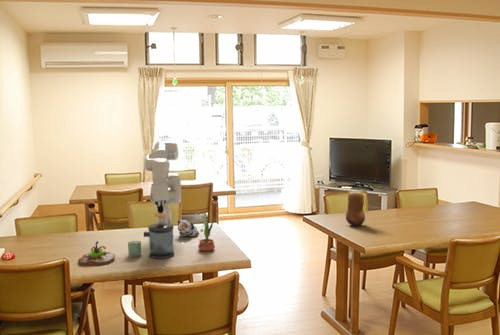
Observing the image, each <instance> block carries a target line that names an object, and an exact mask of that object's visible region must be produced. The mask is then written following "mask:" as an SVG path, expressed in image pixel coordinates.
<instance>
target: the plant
mask: <svg viewBox="0 0 500 335" xmlns="http://www.w3.org/2000/svg"><path fill="white" fill-rule="evenodd" d="M98 244H99V240H96V241H95V246H93V247H92V248H90V250H89V252H87V253H86V254H83V255H82V257H79V258H78V260H77V263H78V265H79V266H80V267H81V266H83V267H89V266H106V265H111V263H113V262H115V258H116V255H115V253H113V252H111V251H106V249H107V247H106V246H104V245H102V246H99V247H98Z"/></svg>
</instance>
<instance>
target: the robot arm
mask: <svg viewBox="0 0 500 335" xmlns="http://www.w3.org/2000/svg"><path fill="white" fill-rule="evenodd" d="M178 158H179V149H178V144H177V143H176V142H175V141H172V140H169V141H168V140H165V141H163V140H161V141H157V142H156V143H155V144H154V147H153V148H152V149H151V151H150V152H149V153H148V154H147V155H146V156H145V160H144V161H145V162H144V168H145V170H146V171H147V172H152V184H151V186H150V194H149V195H150V196H149V198H150V199H149V200H150V201H151V202H150V203H151V204H153V205H155V210H156V211H155V212H159V213H163V211H164V212H166V216H164V217H163V223H168V224H172V210H171V208H170V206H169V205H178V204H180V203H181V201H182V184H181V183H182V181H181V176H180V174H178V173H170V166H171V165H170V161H176V160H178ZM156 224H159V222H158V217H156ZM174 236H175V234H174V233H173V237H174Z"/></svg>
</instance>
